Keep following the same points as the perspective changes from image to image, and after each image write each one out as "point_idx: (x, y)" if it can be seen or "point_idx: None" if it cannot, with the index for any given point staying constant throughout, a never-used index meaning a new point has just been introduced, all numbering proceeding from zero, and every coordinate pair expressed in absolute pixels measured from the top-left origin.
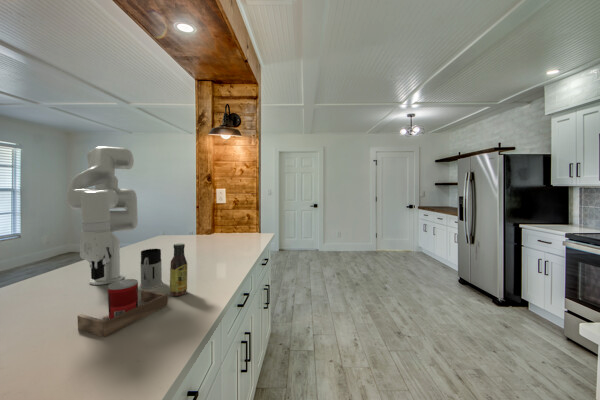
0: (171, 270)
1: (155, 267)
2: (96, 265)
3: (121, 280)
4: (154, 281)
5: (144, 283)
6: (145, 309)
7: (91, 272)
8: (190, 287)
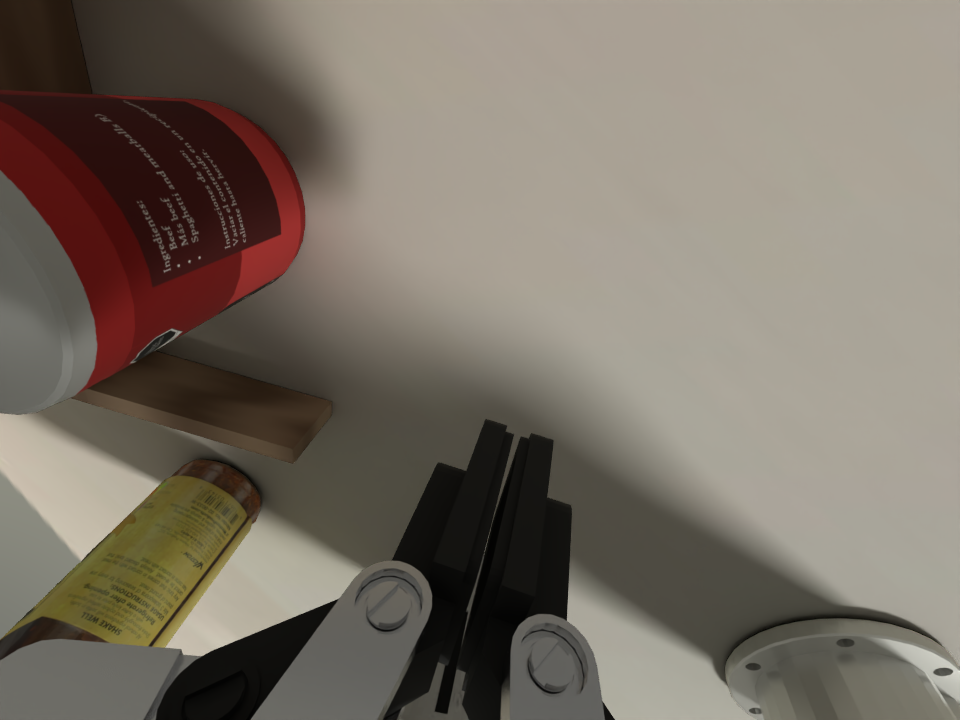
0: (84, 615)
1: None
2: (330, 636)
3: (58, 370)
4: None
5: None
6: None
7: (535, 516)
8: (240, 549)
